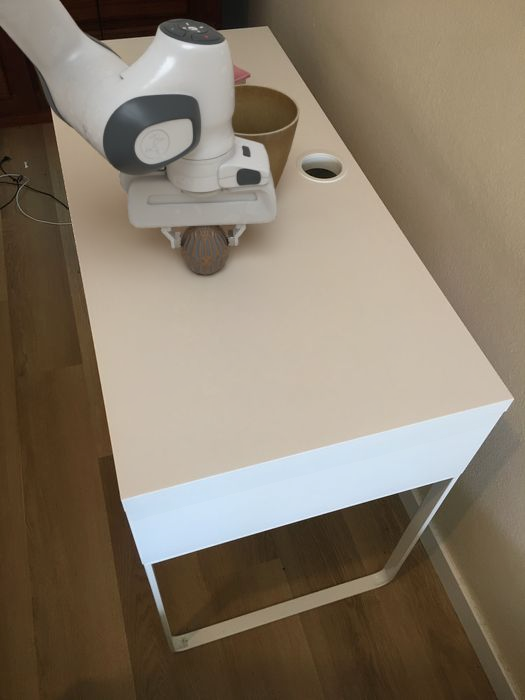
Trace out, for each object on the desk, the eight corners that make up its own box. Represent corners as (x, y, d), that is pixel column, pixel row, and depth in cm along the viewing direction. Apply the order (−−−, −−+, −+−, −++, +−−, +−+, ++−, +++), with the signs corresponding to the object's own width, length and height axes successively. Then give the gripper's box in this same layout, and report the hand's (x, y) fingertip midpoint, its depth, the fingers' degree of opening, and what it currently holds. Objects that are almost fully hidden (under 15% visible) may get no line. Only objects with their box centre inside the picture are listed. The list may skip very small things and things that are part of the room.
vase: (232, 278, 85) (232, 232, 78) (186, 284, 84) (181, 237, 77) (224, 247, 89) (223, 201, 82) (180, 252, 88) (175, 206, 81)
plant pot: (308, 208, 96) (319, 119, 84) (230, 236, 91) (229, 145, 78) (263, 162, 104) (267, 74, 91) (189, 185, 99) (182, 96, 86)
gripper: (115, 178, 70) (131, 262, 81) (282, 172, 72) (276, 255, 82) (118, 148, 74) (133, 232, 84) (276, 144, 75) (271, 227, 86)
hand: (205, 244), depth 83 cm, fingers closed on vase, 7 cm apart
